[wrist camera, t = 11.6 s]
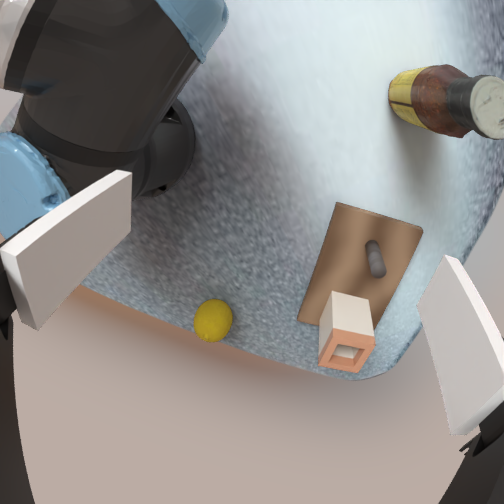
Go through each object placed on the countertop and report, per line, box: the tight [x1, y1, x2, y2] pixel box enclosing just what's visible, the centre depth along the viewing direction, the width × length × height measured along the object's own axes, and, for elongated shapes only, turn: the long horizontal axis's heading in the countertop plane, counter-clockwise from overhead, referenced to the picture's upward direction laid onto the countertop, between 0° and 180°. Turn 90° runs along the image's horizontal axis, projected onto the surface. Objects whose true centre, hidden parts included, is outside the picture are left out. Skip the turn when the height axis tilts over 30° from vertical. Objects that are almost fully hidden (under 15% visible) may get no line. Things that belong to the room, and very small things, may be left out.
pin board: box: [297, 202, 423, 331], centre depth 40 cm, size 12×19×7 cm, turn 170°
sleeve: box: [318, 291, 376, 373], centre depth 41 cm, size 6×6×9 cm
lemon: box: [194, 299, 233, 342], centre depth 47 cm, size 6×6×8 cm
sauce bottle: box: [388, 64, 504, 140], centre depth 22 cm, size 7×6×20 cm
